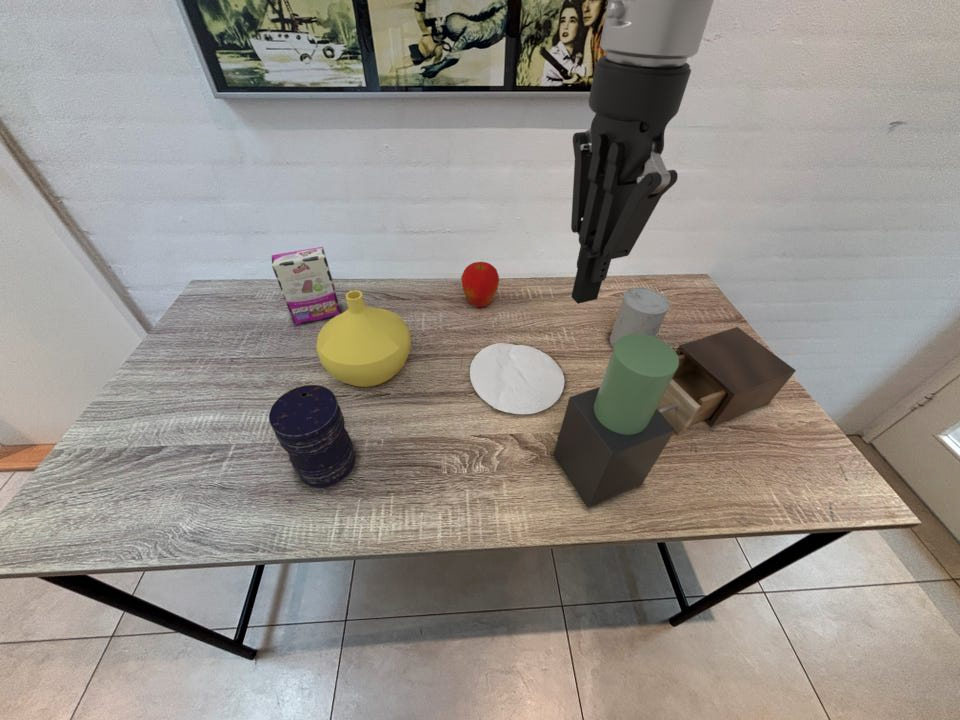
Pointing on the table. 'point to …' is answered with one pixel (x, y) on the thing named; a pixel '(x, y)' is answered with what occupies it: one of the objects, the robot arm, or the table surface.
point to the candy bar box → (306, 285)
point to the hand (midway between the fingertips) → (584, 297)
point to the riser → (606, 451)
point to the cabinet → (738, 371)
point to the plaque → (516, 378)
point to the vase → (363, 344)
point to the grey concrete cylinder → (640, 313)
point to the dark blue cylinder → (313, 435)
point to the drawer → (690, 396)
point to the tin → (634, 383)
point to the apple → (480, 283)
